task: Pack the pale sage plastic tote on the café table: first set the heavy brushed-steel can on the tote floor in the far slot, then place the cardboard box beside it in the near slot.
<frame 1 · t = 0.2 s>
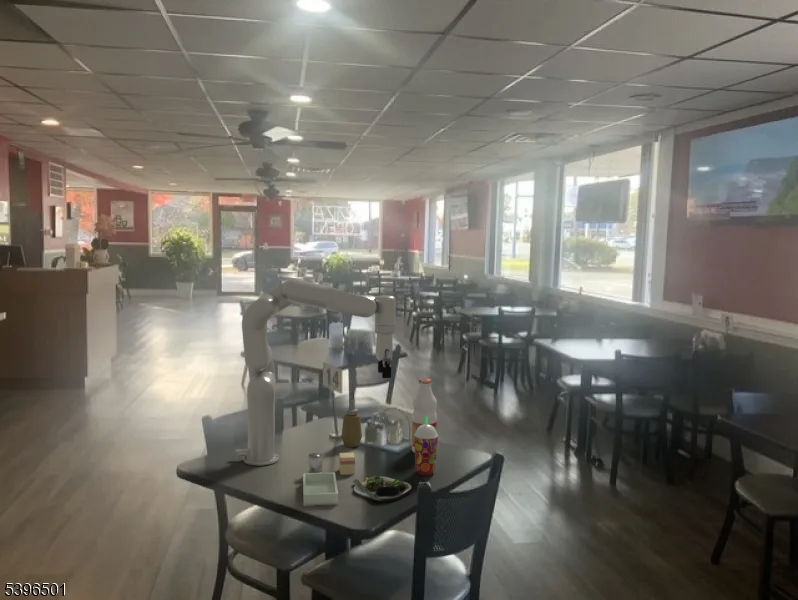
hand: (384, 375, 238), 31 cm above the table, fingers open, 9 cm apart
steel can: (315, 475, 220), on the table
salad plate: (382, 493, 207), on the table
cardboard box: (346, 471, 224), on the table
tote: (319, 494, 204), on the table
squeeze bottle: (351, 445, 253), on the table
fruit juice: (423, 451, 248), on the table
smoothie: (425, 473, 224), on the table
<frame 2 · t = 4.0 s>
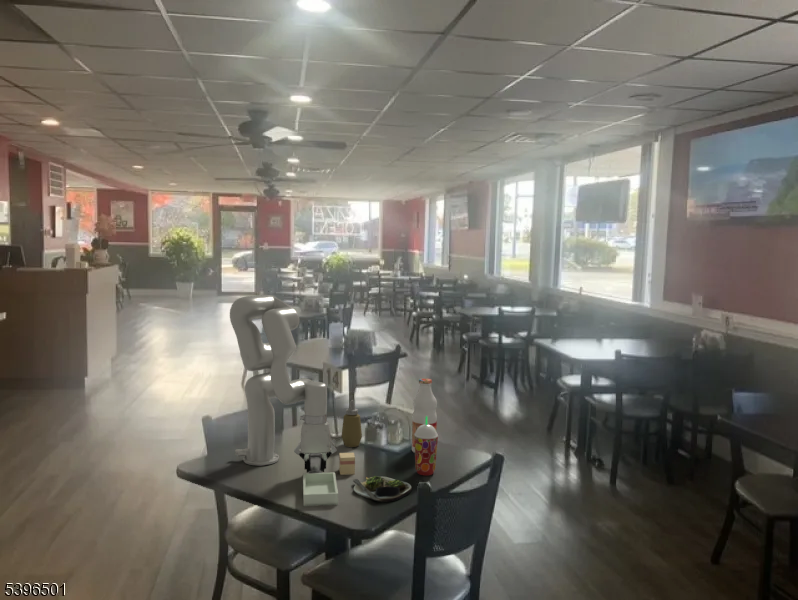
hand: (315, 470, 220), 2 cm above the table, fingers closed on steel can, 4 cm apart
steel can: (315, 475, 220), on the table, touching gripper
everything else where it was.
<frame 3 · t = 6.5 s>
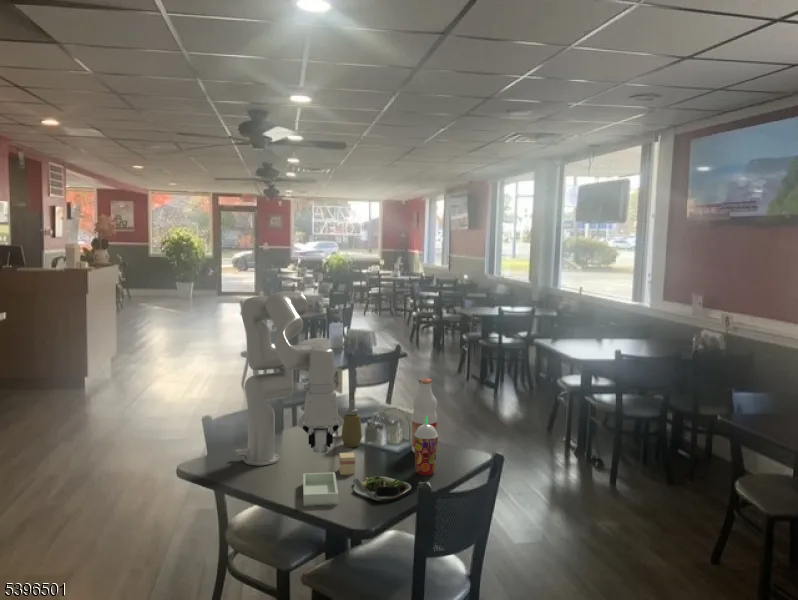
hand: (320, 445, 199), 17 cm above the table, fingers closed on steel can, 4 cm apart
steel can: (320, 450, 199), point 15 cm above the table, touching gripper
everything else where it was.
when the fingers open (4 cm above the table, at t = 9.1 s): steel can drops 2 cm, resting on tote.
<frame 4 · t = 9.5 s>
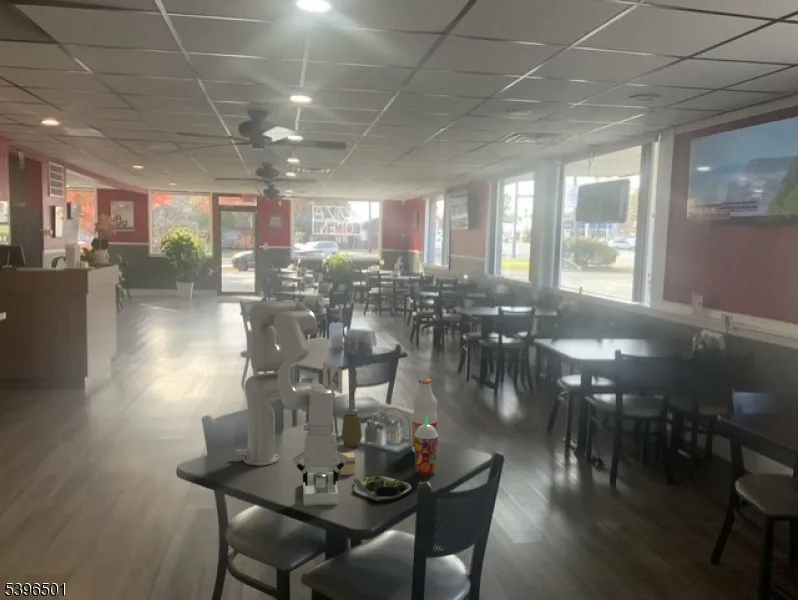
hand: (320, 483, 200), 5 cm above the table, fingers open, 8 cm apart
steel can: (320, 496, 200), point 1 cm above the table, touching tote
everything else where it was.
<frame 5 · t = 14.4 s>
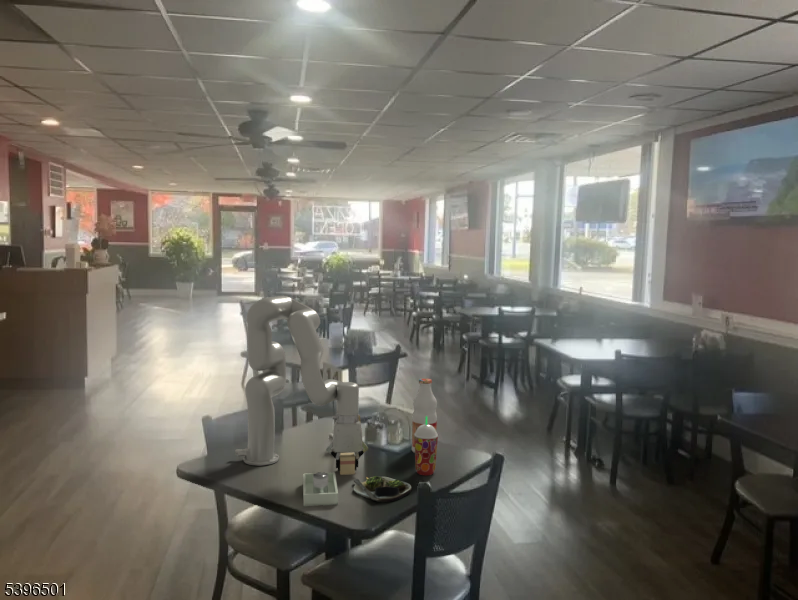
hand: (347, 469, 224), 1 cm above the table, fingers closed on cardboard box, 5 cm apart
cardboard box: (346, 471, 224), on the table, touching gripper
everything else where it was.
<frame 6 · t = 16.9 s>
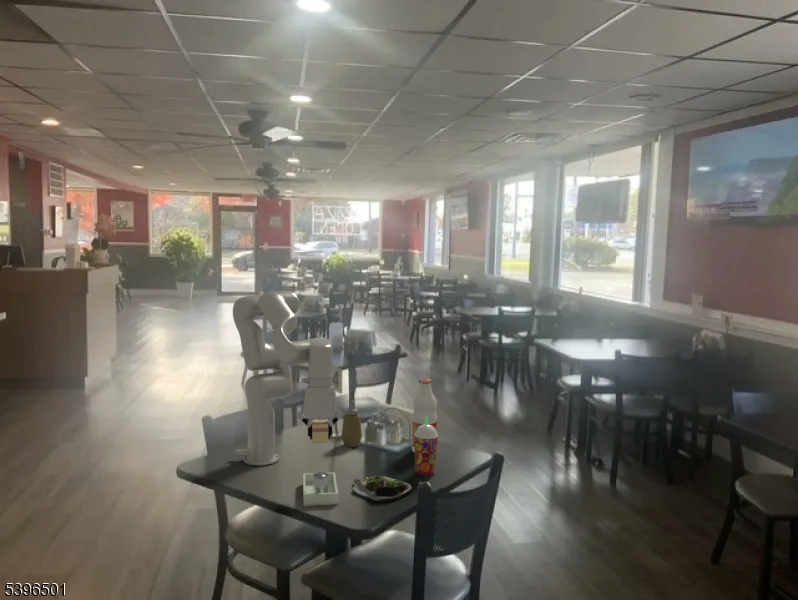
hand: (320, 437, 206), 17 cm above the table, fingers closed on cardboard box, 5 cm apart
cardboard box: (319, 440, 206), point 16 cm above the table, touching gripper
everything else where it was.
when the fingers open (4 cm above the table, at t = 19.6 s): cardboard box drops 2 cm, resting on tote.
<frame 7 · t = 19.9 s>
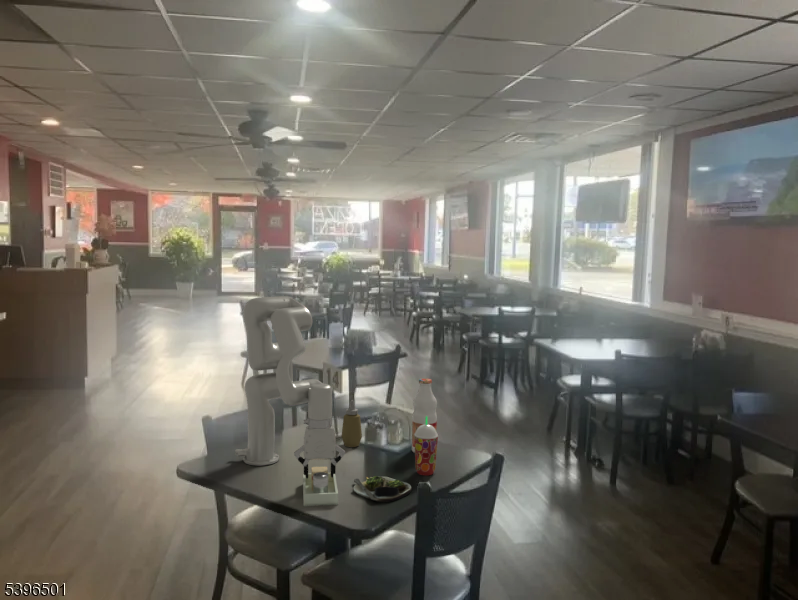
hand: (319, 476, 207), 4 cm above the table, fingers open, 7 cm apart
cardboard box: (319, 487, 208), point 1 cm above the table, touching tote
everything else where it was.
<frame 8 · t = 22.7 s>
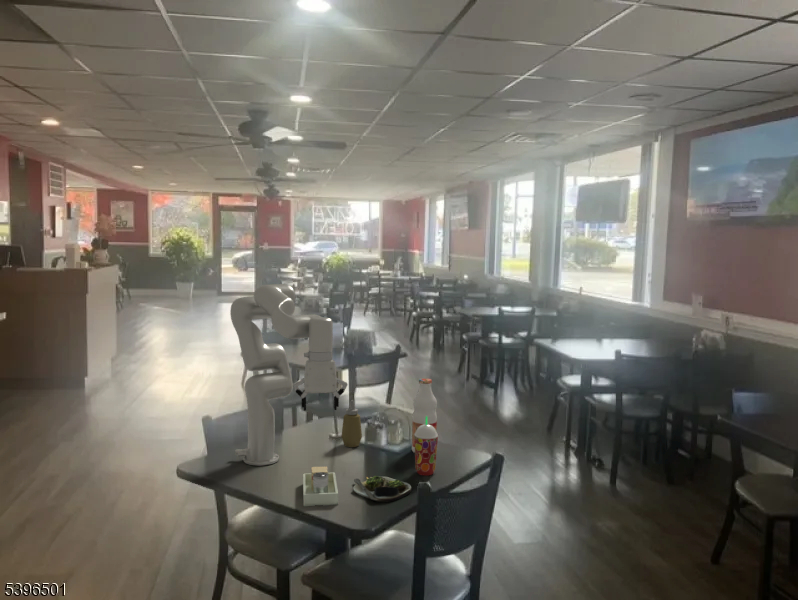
hand: (320, 409, 205), 26 cm above the table, fingers open, 9 cm apart
nothing on the table moved.
at the end: steel can inside the target area on the tote (0.2 cm from its centre), point 0.6 cm above the tote's base; cardboard box inside the target area on the tote (0.5 cm from its centre), point 0.6 cm above the tote's base; steel can tilted 0° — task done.
